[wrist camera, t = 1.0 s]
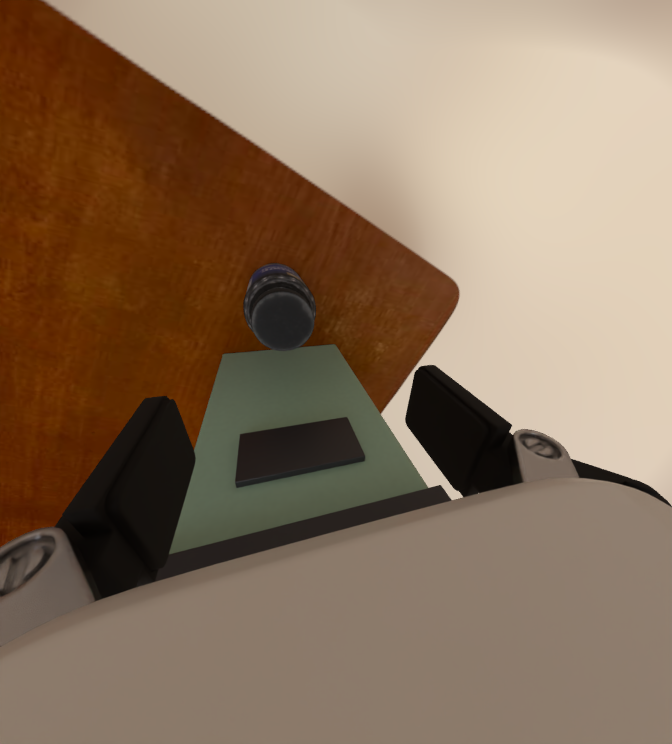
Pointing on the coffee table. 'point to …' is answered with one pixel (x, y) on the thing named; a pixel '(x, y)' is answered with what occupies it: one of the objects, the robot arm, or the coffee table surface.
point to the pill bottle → (279, 307)
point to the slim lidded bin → (289, 459)
